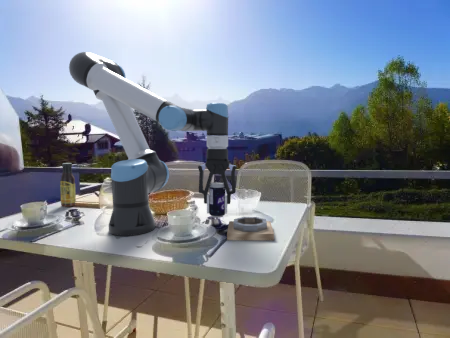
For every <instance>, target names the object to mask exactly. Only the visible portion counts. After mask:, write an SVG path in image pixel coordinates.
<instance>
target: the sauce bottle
mask: <svg viewBox="0 0 450 338" xmlns="http://www.w3.org/2000/svg"><path fill="white" fill-rule="evenodd" d="M61 167H62V174H61V178H60V182H59V186H60V187H59V192H60V193H59V194H60V206H61V207H64V208H65V207H67V208H68V207H73V206H76V203H77V201H76V195H77V194H76V183H75V182H76V179H75V175H74V174H73V169H72V167H73V162H63V163H62V164H61Z"/></svg>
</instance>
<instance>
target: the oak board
mask: <svg viewBox="0 0 450 338" xmlns="http://www.w3.org/2000/svg"><path fill="white" fill-rule="evenodd" d="M266 222H267V229H265V230H262V231H259V232H242V231H238V230H235V229H234V220H232V221H230V220H229V222H228V227H227V232H226V237H227V238H226V241H275V232H274V229H273V226H272V222H271V220H270V221H269V220H266Z"/></svg>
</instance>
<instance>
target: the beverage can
mask: <svg viewBox="0 0 450 338" xmlns="http://www.w3.org/2000/svg"><path fill="white" fill-rule="evenodd" d="M208 194H209V213H208V214H209V215H210V216H211V218H214V219H216V218H217V219H218V218H219V219H220V218H223V217H224V216H225V215H226V214H225V194H226V189H225V186H224V182H221V181H219V182H218V181H215V182H211V183H210V187H209V190H208Z"/></svg>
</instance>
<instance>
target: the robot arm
mask: <svg viewBox="0 0 450 338" xmlns="http://www.w3.org/2000/svg"><path fill="white" fill-rule="evenodd" d="M68 70H69V71H68V72H69V73H70V76H71V79H73V80H74V82H76V83H77V84H79V85H81V86H83V87H85V88H87V89H89V90H91V91H93V93H94V95H95V98H96V99H97V100H99V101H102V103H103V105H104V107H105V110H106V112H107V113H108V116H109V118H110V120H111V122H112V123H111V124H112V125H113V127H114V130H115V132H116V134H117V136H118V139H119V140H120V143H121V145H122V148H123V149H124V152H125V154H126V157H127V158H128V159H125V160H120V161H119V160H118V161H117V162H114V163H113V164H112V165H111V167H110V168H111V173H110V179H111V192H112V193H111V195H112V211H111V215H110V219H109V222H108V233H109V234H111V235H114V236H121V237H123V236H136V235H137V236H138V235H143V234H146V233H149V232H151V231H153V230H155V228H156V227H155V226H156V223H155V222H156V221H155V218H154V215H153V213H152V211H151V208H150V205H149V203H150V200H149V194H150V193H153V192H157V191H159V190H160V189H162V188H164V187H165V186H166V185H167V183H168V181H169V178H170V171H169V170H170V169H169V168H168V165H167V164H166V163H165V161H162V160H161V159H160V158H159V156H158V154H157V152H156V151H155V150H152V149H150V147H149V144H148V142H147V140H146V138H145V134H144V133H143V131H142V129H141V127H140V125H139V122H138V120H137V118H136V116H135V113H134V111H133V110H135V111H136V112H138V113H141V114H142V115H143V116H146V117H148V118H150V119H152V120H153V121H155V122H157V123H158V124H160V126H161V127H162V128H163V129H164V130H168V131H171V132H177V131H179V132H198V131H199V132H200V131H201V132H206V147H207V149H206V161H205V163H203V164H199V165H198V167H197V169H198V172H199V177H198V193H199V194H202V195H203V204H205V205H206V214H209V187H210V183H212V180H213V176H214V175H220V176H221V178H222V181H223V182H222V183H224V186H225V215H226V214H228V205H231V199H232V198H231V195H234V194H236V190H237V189H236V170H237V165H236V164H235V165H234V164H230V162H229V149H228V147H229V117H230V116H229V106H228V104H226V103H224V102H209V103H207V104H206V108H204V109H194V108H193V109H191V108H190V109H189V108H186V107H181V106H178V105H176V104H175V103H173V102H171V101H168V100H167V99H165V98H163V97H161V96H159V95H157V94H156V93H154V92H151V91H150V90H148V89H146V88H144V87H143V86H140V85H138V84H136V83H134V82H133V81H131V80H129V79H127V78H126V72H125V70H124V69H123V66H121V65H120V64H119V63H118V62H116V61H115V60H113V59H110V58H106V57H103V56H101V55H97V54H95V53H92V52H89V51H88V52H87V51H81V52H78V53H77V54H75V55H73V57H72V58H71V59H70V61H69V66H68ZM228 168H229V171H231V172H230V174H231V176H230V177H231V180H230V181H231V189H230V186H229V181H228V179H227V174H226V171H227V169H228ZM206 169H207V170H208V171H209V174H208V178H207V181H206V185H205V188H204V179H205V178H204V176H205V174H204V173H205V170H206Z"/></svg>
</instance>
